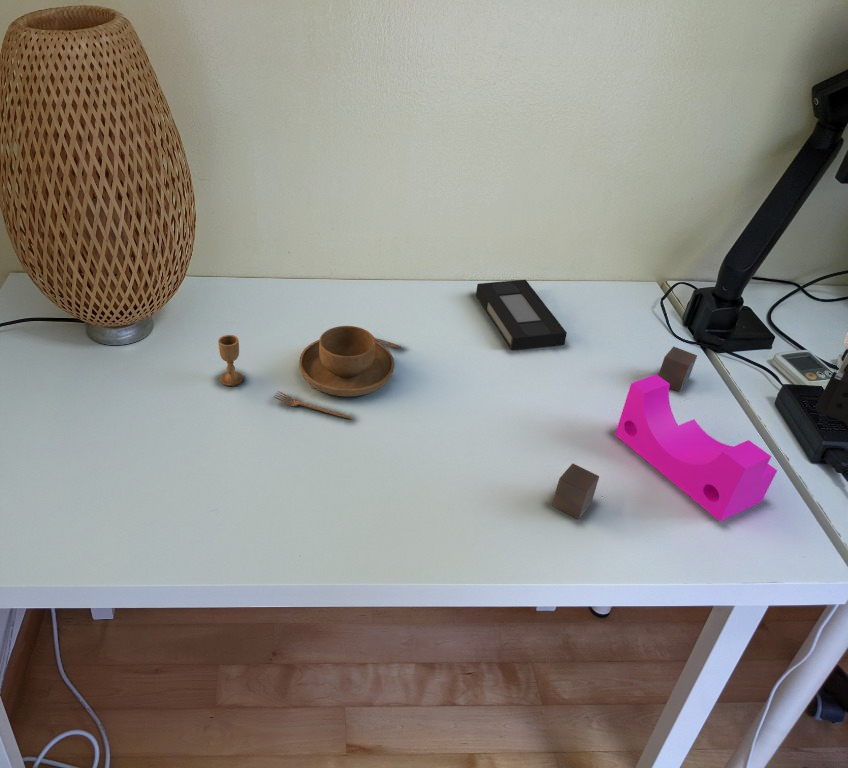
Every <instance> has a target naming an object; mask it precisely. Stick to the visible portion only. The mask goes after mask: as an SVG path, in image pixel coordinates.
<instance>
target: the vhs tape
mask: <svg viewBox="0 0 848 768" xmlns="http://www.w3.org/2000/svg"><path fill="white" fill-rule="evenodd" d="M475 298H477V300H478V302H479V304H481V306H482V308H483V309H484V311H485V312H486V314H487V315H488V317H489V318H490V320H491V321H492V323H493V325H494V326H495V328H496V329H497V331H498V332H499V333H500V335H501V337H502V339H503V340H504V341H505V343H506V345H507V346H508V347H509V349H510V350H511V351H515V350H516V351H517V350H525V349H526V350H527V349H534V348H535V349H537V348H545V347H553V346H554V347H555V346H556V347H557V346H563V345H564V346H565V343H566V339H567V335H568V332H567V331H566V330H565V329H564V327H563V326H562V324H561V323H560V321H559V320H558V319H557V318H556V316H554V314H553V313H552V312H551V310H550V308H549V307H547V305H546V304H545V303H544V301H543V300H542V298H540V296H539V295H538V294H537V292H536V291H535V289H534V288H533V287H532V286H531V285H530V283H529V282H528V281H527V279H516V280H503V281H493V282H492V281H491V282H481V283H477V284H476V291H475Z"/></svg>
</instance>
